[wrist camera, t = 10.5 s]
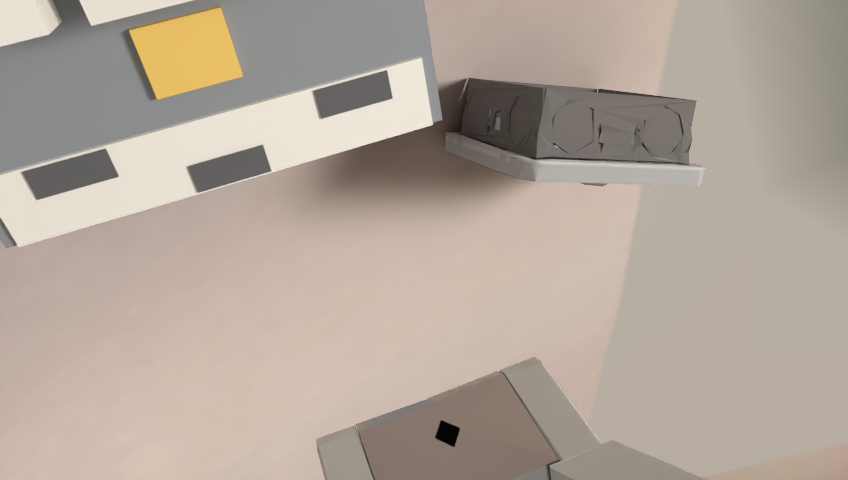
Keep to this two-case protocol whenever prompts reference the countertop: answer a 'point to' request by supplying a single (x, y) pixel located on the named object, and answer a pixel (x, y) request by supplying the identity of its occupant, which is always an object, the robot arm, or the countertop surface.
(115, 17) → the rocker
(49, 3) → the rocker
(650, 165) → the electrical switch
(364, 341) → the countertop surface
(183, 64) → the switch unit
